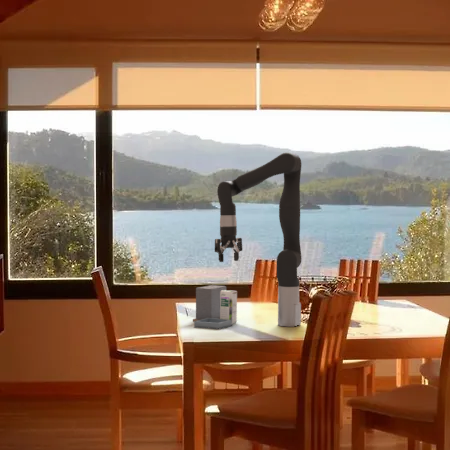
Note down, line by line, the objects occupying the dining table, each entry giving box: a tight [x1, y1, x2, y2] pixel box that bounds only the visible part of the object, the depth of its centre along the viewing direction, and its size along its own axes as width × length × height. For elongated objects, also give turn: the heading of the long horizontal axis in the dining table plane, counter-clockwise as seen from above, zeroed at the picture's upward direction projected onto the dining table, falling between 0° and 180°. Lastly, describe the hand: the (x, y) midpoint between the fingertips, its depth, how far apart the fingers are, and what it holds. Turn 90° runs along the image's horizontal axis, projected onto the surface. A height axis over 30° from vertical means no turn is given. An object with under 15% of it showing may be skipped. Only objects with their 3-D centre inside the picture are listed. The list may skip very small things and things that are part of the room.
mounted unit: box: [192, 284, 227, 322], centre depth 376 cm, size 10×16×15 cm, turn 152°
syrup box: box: [220, 289, 238, 325], centre depth 367 cm, size 6×6×14 cm
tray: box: [193, 318, 233, 330], centre depth 357 cm, size 12×12×2 cm
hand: (228, 261), depth 373 cm, fingers open, 8 cm apart
